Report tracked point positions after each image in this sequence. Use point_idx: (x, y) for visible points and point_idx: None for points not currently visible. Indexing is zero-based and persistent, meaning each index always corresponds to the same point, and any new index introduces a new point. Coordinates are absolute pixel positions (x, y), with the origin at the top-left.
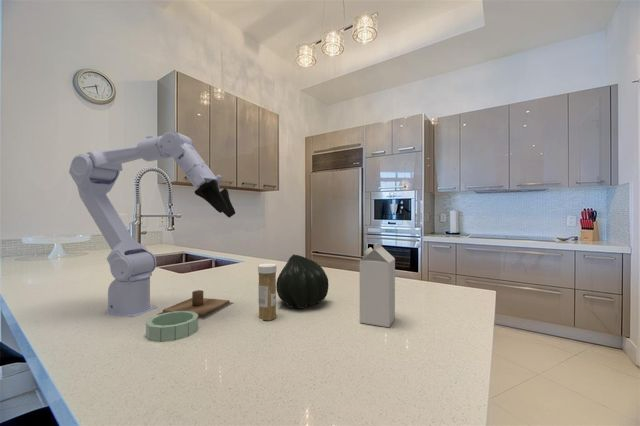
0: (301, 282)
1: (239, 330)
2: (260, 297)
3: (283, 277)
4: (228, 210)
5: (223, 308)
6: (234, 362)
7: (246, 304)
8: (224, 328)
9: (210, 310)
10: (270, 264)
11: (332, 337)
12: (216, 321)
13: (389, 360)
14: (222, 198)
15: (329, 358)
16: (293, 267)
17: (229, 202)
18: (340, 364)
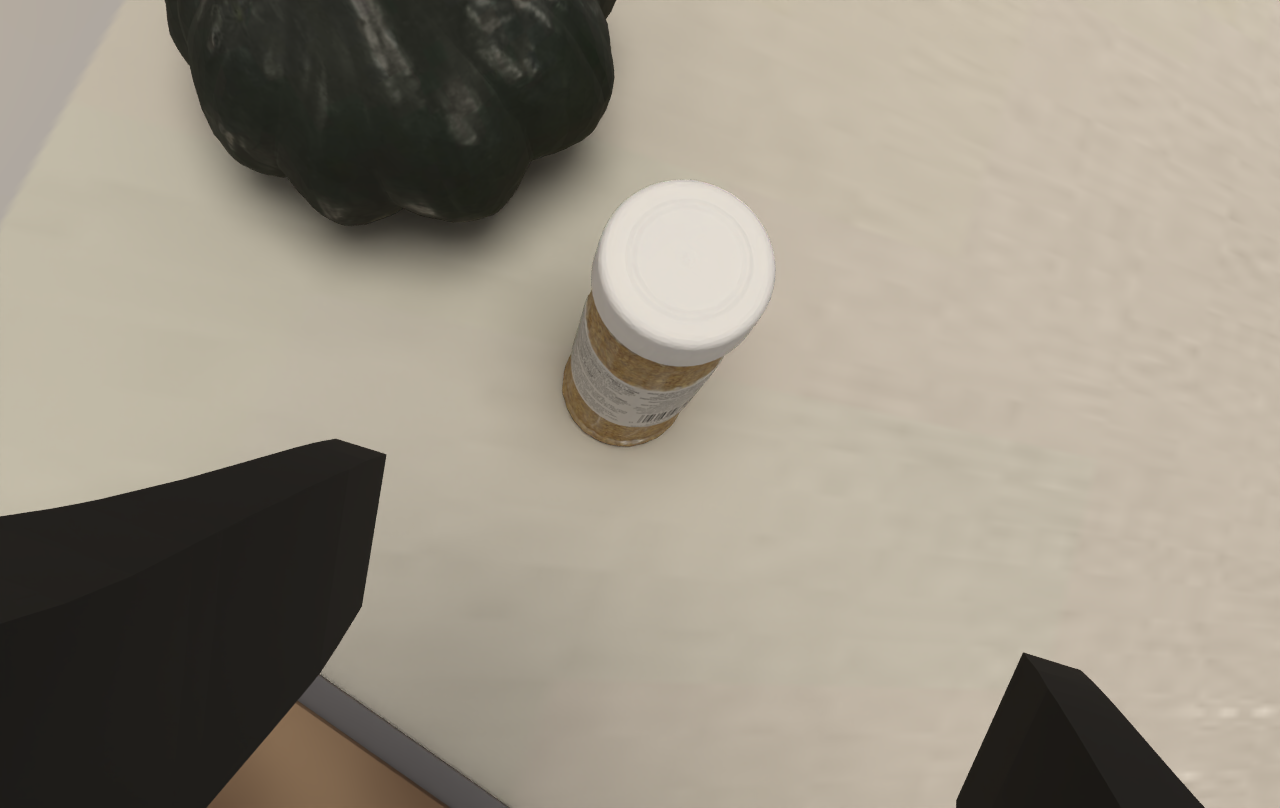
0: (606, 38)
1: (784, 590)
2: (680, 405)
3: (481, 137)
4: (302, 602)
5: (320, 679)
6: (1163, 645)
7: None
8: (722, 681)
9: (414, 786)
10: (687, 228)
11: (1016, 139)
12: (571, 734)
13: (1273, 32)
14: (1195, 799)
15: (1212, 238)
16: (500, 3)
17: (207, 554)
18: (1267, 218)
